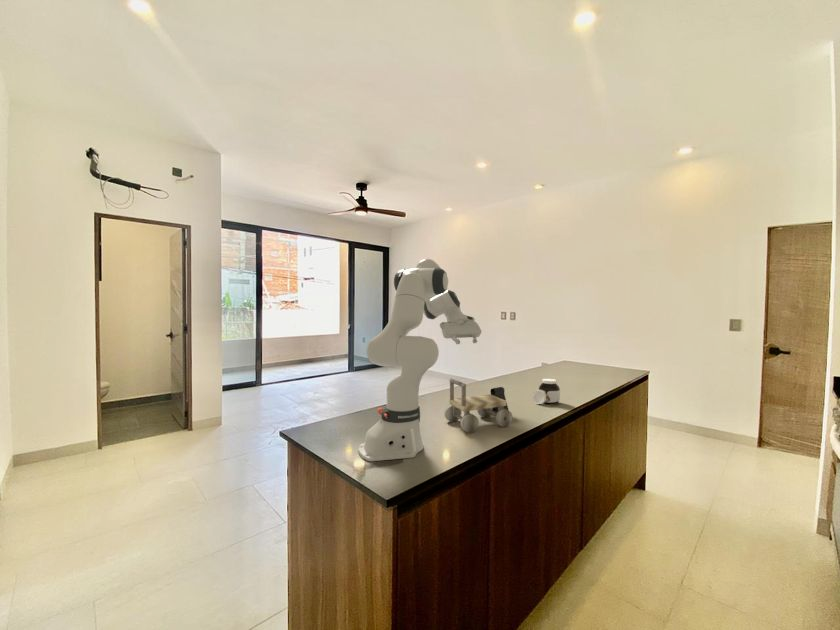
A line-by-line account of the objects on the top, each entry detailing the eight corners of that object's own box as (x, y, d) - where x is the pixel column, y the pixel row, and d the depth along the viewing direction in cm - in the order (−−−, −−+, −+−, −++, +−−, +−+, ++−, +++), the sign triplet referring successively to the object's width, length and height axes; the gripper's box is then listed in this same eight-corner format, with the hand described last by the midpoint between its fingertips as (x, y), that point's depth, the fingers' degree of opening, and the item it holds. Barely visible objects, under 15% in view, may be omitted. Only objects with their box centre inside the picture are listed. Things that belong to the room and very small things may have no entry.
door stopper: (509, 415, 160) (509, 388, 160) (500, 417, 157) (500, 390, 157) (495, 410, 168) (494, 385, 167) (485, 412, 164) (485, 386, 164)
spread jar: (561, 402, 181) (561, 379, 181) (556, 407, 171) (556, 383, 171) (537, 399, 187) (537, 377, 187) (531, 404, 178) (531, 381, 177)
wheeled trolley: (463, 434, 137) (462, 385, 137) (444, 421, 152) (444, 377, 152) (512, 425, 146) (512, 380, 146) (490, 415, 161) (490, 373, 160)
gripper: (440, 318, 175) (449, 339, 166) (476, 317, 182) (487, 337, 174) (436, 326, 179) (445, 348, 170) (472, 325, 187) (482, 346, 178)
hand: (467, 343), depth 172 cm, fingers open, 8 cm apart
